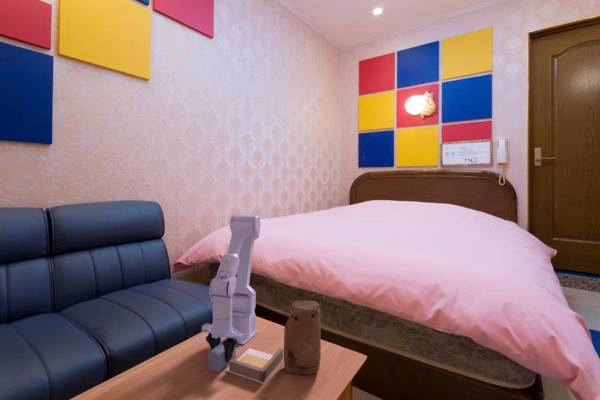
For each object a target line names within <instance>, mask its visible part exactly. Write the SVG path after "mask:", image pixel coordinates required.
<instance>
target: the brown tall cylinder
mask: <svg viewBox="0 0 600 400" xmlns="http://www.w3.org/2000/svg"><path fill="white" fill-rule="evenodd" d="M321 331H322V330H321V310H320V304H319V303H318V302H317V301H315V300H303V299H301V300H295V301H293V303H292V304H291V308H290V311H289V315H288V319H287V320H286V322H285V325H284V331H283V334H284V335H283V363H284V369H285V370H286V373H291V374H292V373H293V374H295V375H312V374H316V373H318V372H319V370H320V367H321V365H320V364H321V357H322V355H321V354H322V353H321V349H322V347H321V346H322V345H321V340H322V339H321V338H322V337H321V336H322V335H321V334H322V333H321Z"/></svg>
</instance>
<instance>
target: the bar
mask: <svg viewBox="0 0 600 400" xmlns="http://www.w3.org/2000/svg"><path fill="white" fill-rule="evenodd" d="M225 340H226V339H225V338H224V340H223V341H221V342H220V344H219V345H218V346H216V347H215V348H214V349H213V350H211V349H210V351H209V352H208V369H209V370H211V371H215V372H217V373H220V372H222V370H224V369H225V368H226V367H227V366H229V362H226V361H225V350H224V346H223V344H222V343H223V342H224V341H225ZM236 346H237V344H236V345H235V348H234V351H233V354H232V359H234V360H235V358H236V353H237V352H236V351H237V349H236V348H237V347H236Z"/></svg>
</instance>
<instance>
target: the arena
mask: <svg viewBox="0 0 600 400" xmlns="http://www.w3.org/2000/svg"><path fill="white" fill-rule="evenodd" d="M283 361H284V348H281V347H279V349H278V350H277V351H276V352H275V353H274V354H270V353H267V352H264V351H260V350H256V349H254V348H250V347H249V348H248V349H247V350H245V352H243V353H242V354H241V356H239V357H238V358H237V359H235V358H234V359H231V360H230V361H229V364H228V368H227V369H225V371H226V372H228V373H231V374H233V375H236V376H240V377H242V378H245V379H248V380H252V381H254V382H256V383H259V384H263V385H264V384H265V382H266V381H267V380H268V379H269V377H270V376H271V375H272V373H274V372H275V370H276V369H277V367H278V366H279V365H280V364H281V363H282V362H283Z"/></svg>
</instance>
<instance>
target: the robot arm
mask: <svg viewBox="0 0 600 400" xmlns="http://www.w3.org/2000/svg"><path fill="white" fill-rule="evenodd" d="M229 229H230V232H231V237H230V240H229V245H228V249H227V253H226V254H224V255H222V257H221V261H220V264H219V266H218V270H217V273H216V275H215V277H214V278H211V281H210V283H209V289H208V293H209V294H208V295H209V296H210V301H211V302H212V323H204V324H202V326H201V333H207V334H208V335H207V336H205V341H206V342H207V343H208V345H209V347H210V351H211V350H213V349H214V348H215V347H216V346H218V345H219V344H220V343H221V342H223V341H224V340H225V339H226V340H225V341H224V342H223V343H222V344H223V346H224V350H225V361H226V362H229V361H230V360H231V359H232V354H233V351H234V348H235V345H236V346H237V344H239V345H245V344H246V343H247V342H249V340H251V339H252V338H253V337H254V336H255V335H257V333H258V330H257V329H256V328H257V327H256V325H257V323H256V317H257V316H256V313H255V312H256V311H255V309H256V305H257V299H256V295H257V293H256V290H255V289H254V288H252V286H251V285H250V280H251V272H252V271H251V270H252V263H253V262H252V261H253V255H254V254H253V252H254V245H255V241H256V240H258V239H259V236H260V231H261V220H260V217H259V216H258V215H256V214H255V215H246V214H245V215H242V214H241V215H240V214H233V215H232V216H231V217H230V220H229ZM222 338H223V339H224V340H223V341H222Z"/></svg>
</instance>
